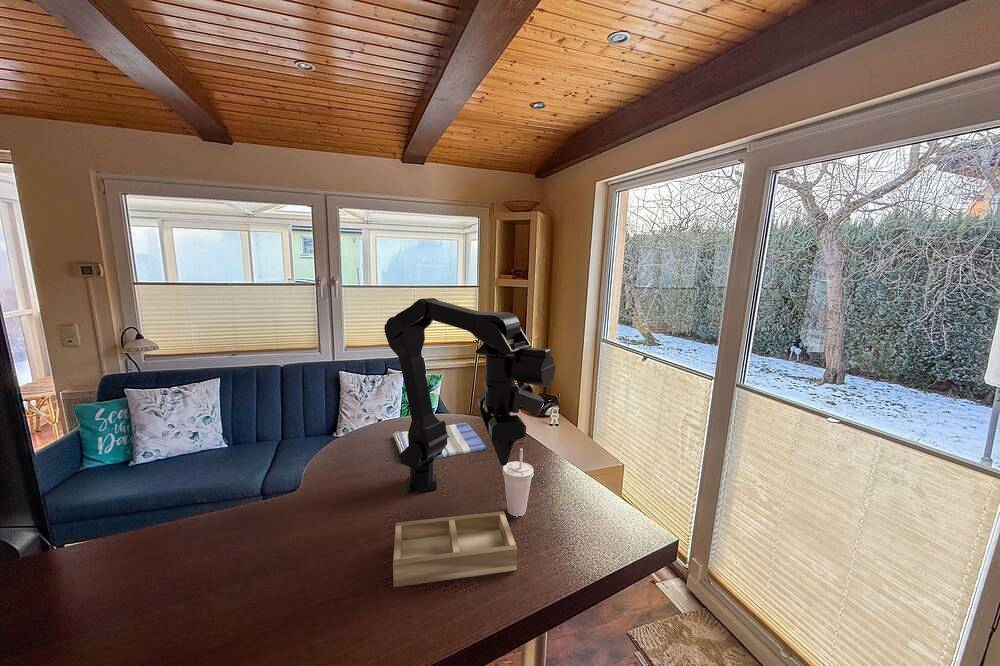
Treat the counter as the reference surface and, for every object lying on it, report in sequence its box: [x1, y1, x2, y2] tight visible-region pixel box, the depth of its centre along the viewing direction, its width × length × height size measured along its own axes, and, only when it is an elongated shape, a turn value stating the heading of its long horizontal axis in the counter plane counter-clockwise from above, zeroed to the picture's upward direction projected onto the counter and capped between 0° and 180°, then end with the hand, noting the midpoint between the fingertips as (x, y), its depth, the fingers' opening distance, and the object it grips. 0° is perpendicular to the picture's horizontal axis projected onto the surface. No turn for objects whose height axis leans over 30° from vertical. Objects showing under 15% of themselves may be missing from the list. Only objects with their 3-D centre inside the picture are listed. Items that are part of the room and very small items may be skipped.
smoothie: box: [501, 447, 535, 518], centre depth 82 cm, size 6×6×14 cm
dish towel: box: [392, 422, 488, 460], centre depth 114 cm, size 17×24×3 cm
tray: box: [392, 511, 518, 588], centre depth 70 cm, size 10×20×4 cm, turn 102°
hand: (499, 454), depth 80 cm, fingers open, 9 cm apart
